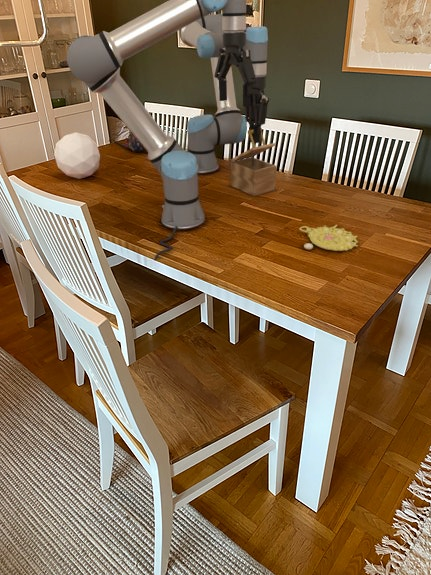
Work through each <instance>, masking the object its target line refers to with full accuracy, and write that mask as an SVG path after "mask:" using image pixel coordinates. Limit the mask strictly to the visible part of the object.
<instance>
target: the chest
mask: <svg viewBox="0 0 431 575" xmlns="http://www.w3.org/2000/svg"><path fill="white" fill-rule="evenodd" d="M276 179H277V165H276V164H272V163H270V162H267V161H265V160H261V159H258V158H257V157H254V156H253V157H250V158H246V159H242V160H237V161H233V162H231V161H230V186H231V187H233V188H235V189H237V190H240V191H242V192H244V193H246V194H249V195H251V196H253V197H256V196H259V195H263V194H265V193H269V192H273V191H276V182H277V180H276Z"/></svg>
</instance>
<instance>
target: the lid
mask: <svg viewBox="0 0 431 575" xmlns="http://www.w3.org/2000/svg"><path fill="white" fill-rule="evenodd" d="M253 131H254V129H252V130H249V129H247V134H248V135H249V140H250V139H251V142H250V143H251V146H252V147H251V148H249V149H248V150H245V151H244V152H242V153H240V154H238V155H236V156H235V157H233V158H231V159H230V163H231V162H234V161H238V160H242V159H246V158H251V157H253V158H254V157H255V156H258V155H260V154H262V153H263V152H265V151H267V150H270V149H271V148H273V147H275V146H276V143H275V142H272V143H267V144H266V142H265V139H264V134H263V128H262V127H261V134H260V141H261V143H262V145H259V146H256V143H255V144H254V140H253V137H252V134H253Z"/></svg>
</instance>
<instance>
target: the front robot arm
mask: <svg viewBox="0 0 431 575" xmlns="http://www.w3.org/2000/svg"><path fill="white" fill-rule="evenodd" d="M219 11H221V14H222V30H223V31H224V33H223V46H226V48H220V49H219V58H218V62H217V67H216V71H215V75H214V76H215V78H217V79H218V80H219V101H225V100H227V80H225V79H226V76H227V73H228V71H229V69H230V67H231V68H232V65H233V66H235V67H237V69H238V71H239V74H240V76H241V79H242V81H243V83H242V84H243V85H242V107H245V106H251V94H252V84H253V83H256V76H255V73H254V69H253V65H252V61H251V53H250V50H244V49H243V47H244V46H245V45H246V33H245V32H246V29H247V0H167V1H165V2H163V3H161V4H159V5H158V6H156V7H154V8H153V9H150V10H149V11H147V12H145V13H144V14H141V15H140V16H137V17H136V18H134V19H132V20H130V21H128V22H127V23H125V24H123V25H121V26H119V27H117V28H115V29H114V30H112V31H110V32H107V31H105V30H103V31H101V32H99V33H97V34H95V35H88V34H87V35H80V36H78V37H77V38H75V39H73V41H72V42H71V43H70V45H69V47H68V50H67V53H66V61H67V66H68V69H69V70H70V72H71V73H72V74H73V76H74V77H75V78H77V79H78V80H80V81H81V82H83V83H84V84H85V85H86V87H87V88H88V89H89V90H90V92H91V93H94V94H95V93H96V94H99V95H100V96H101V97H102V98H103V99H104V101H105V102H106V103H107V105H108V106H109V107H111V110H113V112H114V113H115V115H117V116H118V118H119V119H120V120H121V121H122V122H123V124H124V125H125V126H126V128H128V130H129V131H130V132H131V134H132V133H133V134H134V136H135V137H136V138H137V139H138V140H139V142H140V143H141V144H142V145H143V147H144V148H145V149H144V150H145V151H146V152H148V153H147V159H148V161H149V163H151V164H152V166H153V167H154V168H155V169H156V170H157V172H158V173H159V175H160V177H161V180H162V184H163V194H164V204H162V205H161V207H162V213H161V219H160V220H161V225H162V227H163V228H165V229H167V230H170V231H172V232H171V235H170V236H169V237H168V238H164V239H161V240H160V241H159V243H160V245H161V246H164V247H166V249H163V250H160V251H158V252H157V253H156V255H155V256H154V258H153V261H157V260H158V257H159V256H160V255H162V254H164V253H168V252H170V251H171V250H172V246H171V245H170V244H167V243H164V242H169V241H171V240H172V239H173V238H174V235H175V233H176V231H177V232H185V231H186V232H187V231H192V230H195V229H198V228H201V227H202V226H203V225H204V224H205V223H206V216H205V212H204V210H203V208H202V204H201V202H200V196H199V176H198V175H199V174H198V173H197V170H198V164H197V160H196V157H195V156H194V155H193V154H192V153H190V152H189V151H186V150H185V149H184V148H183V147H182V146H181V145H180V144H179V142H178V141H177V140H176V139H175V137H174V136H168V135H167V134H166V133H165V131H163V129H162V128H161V127H160V125H159V123H157V121H156V120H155V119H154V117H153V116H152V115H151V114H150V112H149V111H148V110H147V108H146V107H145V106H144V104H143V103H142V102H141V100H140V99H139V98H138V97H137V95H136V94H135V93H134V92H133V90H132V89H131V87H129V85H128V84H127V82H125V79H123V78H122V76H121V67H122V66H123V63H124V61H125V60H127V59H129V58H131V57H133V56H135V55H136V54H138V53H140V52H141V51H143V50H145V49H147V48H149V47H151V46H153V45H155V44H156V43H158V42H160V41H163V39H165V38H167V37H169V36H171V35H173V34H174V33H176V32H179V30H180V29H182V28H184V27H186V26H188V25H189V24H191V23H193V22H195V21H197V20H199V19H200V18H203V17H205V16H206V15H211V14H212V13H216V12H219ZM218 73H219V74H218ZM247 80H248V81H247Z"/></svg>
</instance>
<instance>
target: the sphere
mask: <svg viewBox="0 0 431 575" xmlns="http://www.w3.org/2000/svg"><path fill="white" fill-rule="evenodd" d="M53 156H54V159H55V162H56V165H57V168H58V169H59V170H60V171H62V173H64V174H65V175H66V176H67V177H71V178H74V179H77V180H82V179H84V178H87V177H90V176H92V175H93V174H94V173H95V172H96V171H97V170H98V169H99V167H100V161H101V154H100V151H99V147H98V144H97V143H96V141H94V140H93V139H92V138H91V137H90V136H89V135H88V134H84V133H80V132H76V131H75V132H72V133H69V134H65V135H63V137H61V139H59V140H58V141H57V142H56V143H55V149H54V155H53Z"/></svg>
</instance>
